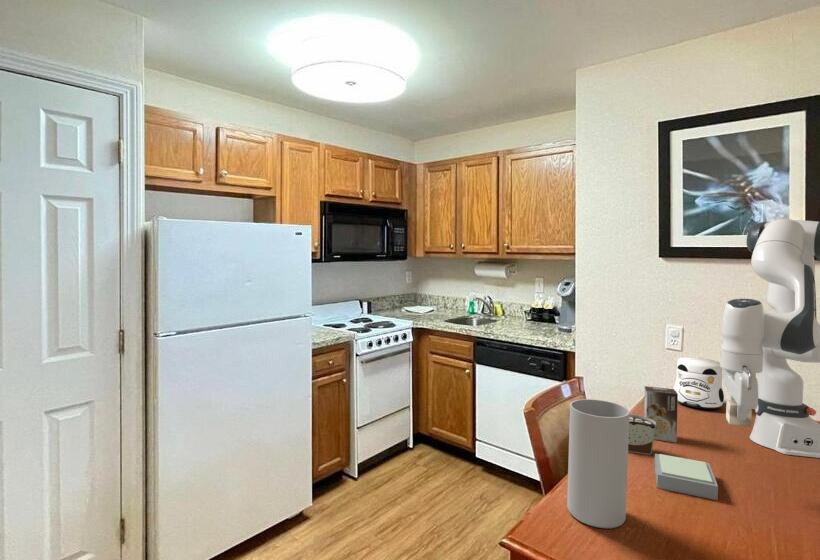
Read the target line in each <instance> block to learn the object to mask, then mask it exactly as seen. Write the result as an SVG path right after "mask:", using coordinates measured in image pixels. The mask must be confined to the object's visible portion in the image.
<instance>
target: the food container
mask: <svg viewBox="0 0 820 560" xmlns="http://www.w3.org/2000/svg"><path fill="white" fill-rule="evenodd" d="M655 429H657V430H658V427H657V424H656V422H655V421H653V420H652V419H650V418H647V417H644V415H639V414H632V413H629V438H628V453H636V454H641V455H642V454H643V455H650V456H651V455H652V453H653V447H654V443H655V442H654V441H655V440H654V436H655Z"/></svg>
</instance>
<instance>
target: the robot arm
mask: <svg viewBox="0 0 820 560" xmlns="http://www.w3.org/2000/svg"><path fill="white" fill-rule="evenodd" d="M745 244H746V248H747V250H748V251H749V252H750V253H751V260H750V261H751V262H750V266H751V268H752V271H754V273H755V274H756V275H757V276H758V277H760V278H761V279H762V280H765V281H766V282H768V283H767V290H766V291H767V292H766V297H765V300H766V303H767V305H768V306H769V307H770V308H771V309H773V310H774V311H765V310H764V306H763V302H761V301H760V300H757V299H753V298H734V299H730V300H728V301H727V302H726V304H725V306H724V310H723V314H722V321H721V331H720V332H721V336H722V343H721V346H720V353H719V354H720V356H719V357H720V358H719V362H720V367H722V383H723V385H724V388H725V390H726V391H727V392H728V394H729V395H730V396H729V397H730V400H732V401H736V403H737V406H738V407H737V412H736V416H737V418H738V419H739V420H746V414H747V411H748V408H749V409H752V410H754V412H755V419H754V423H753V427H752V429H751V433H750V435H749V439H750V440H751V441H752V442H754V443H755V444H758V445H760V446H762V447H766V448H769V449H772V450H774V451H776V452H778V453H781V454H784V455H788V456H791V455H792V456H798V457H799V456H800V457H808V458H817V459H820V423H818V421H816V420H815V419H813V417H814V416H815V415H817V410H815V409H814V408H813V407H810V406H809V405H807V404H805V403H803V397H804V380H803V377H802V376H801V375H800V374H798V373H797V372H796V371H795V370H793V369H792V368H791V366H790V365H789V364H788V362H787V360H791V361H795V362H796V361H797V362H801V363H814V364H815V363H819V364H820V323H819V322H818V319H817V295H816V293H817V292H816V291H817V290H816V280H815V278H816V277H815V275H816V273H815V272H816V266H815V265H816V263H815V258H816V262H820V220H819V221H814V220H800V219H796V220H795V219H791V218H779V219H775V220H772V221H769V222H767V221H761V222H756V223H753V225H751V226H750V227H749V228H748V231H747V233H746V235H745ZM775 311H776V312H775Z"/></svg>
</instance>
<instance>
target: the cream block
mask: <svg viewBox="0 0 820 560" xmlns="http://www.w3.org/2000/svg"><path fill="white" fill-rule="evenodd" d="M737 407H738V406H737V403H736V401H732V400H731V399H726V406H725V408H726V409H725V419H726V422H728V424H729V425H733V426H739V427H740V426H741V427H748V428H751V427H752V414H753V412H752V410H753V409H749V408H748V411H747V414H746V420H739V419H738V418H737V416H736V412H737Z"/></svg>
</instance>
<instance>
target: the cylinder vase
mask: <svg viewBox="0 0 820 560" xmlns="http://www.w3.org/2000/svg"><path fill="white" fill-rule="evenodd" d="M629 414H630V410H629V409H628V408H627V407H626V406H623V405H621V404H619V403H616V402H612V401H608V400H602V399H594V398H591V399H590V398H589V399H588V398H584V399H581V398H580V399H576V400H572V401H571V402H570V404H569V430H568V431H569V433H568V462H567V463H568V464H567V465H568V467H567V468H568V469H567V500H566V501H567V503H566V506H567V509H568V511H569V513H570V514H571V516H572V517H574V518H575V519H576V520H578V521H579V522H581V523H583V524H586V525H587V526H590V527H593V528H594V527H595V528H598V529H599V528H600V529H614V528H618V527H621V526H622V525H623V524H624V523H625V521H626V517H627V490H628V489H627V487H628V466H629V465H628V463H629V452H628V438H629Z"/></svg>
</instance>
